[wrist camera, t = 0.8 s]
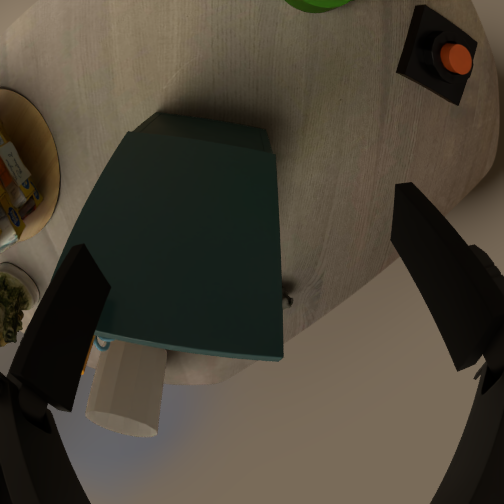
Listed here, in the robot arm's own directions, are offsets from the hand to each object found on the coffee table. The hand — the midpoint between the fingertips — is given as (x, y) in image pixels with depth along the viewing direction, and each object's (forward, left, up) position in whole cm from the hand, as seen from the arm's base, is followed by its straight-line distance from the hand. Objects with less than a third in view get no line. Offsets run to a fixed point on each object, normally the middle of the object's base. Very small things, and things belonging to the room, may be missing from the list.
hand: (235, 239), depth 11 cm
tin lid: (+4, -3, -6) cm, 8 cm away
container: (+50, -13, -24) cm, 57 cm away
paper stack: (+10, -35, -24) cm, 43 cm away
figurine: (+36, -39, -24) cm, 58 cm away
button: (-15, +21, -20) cm, 32 cm away
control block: (-15, +21, -23) cm, 35 cm away
